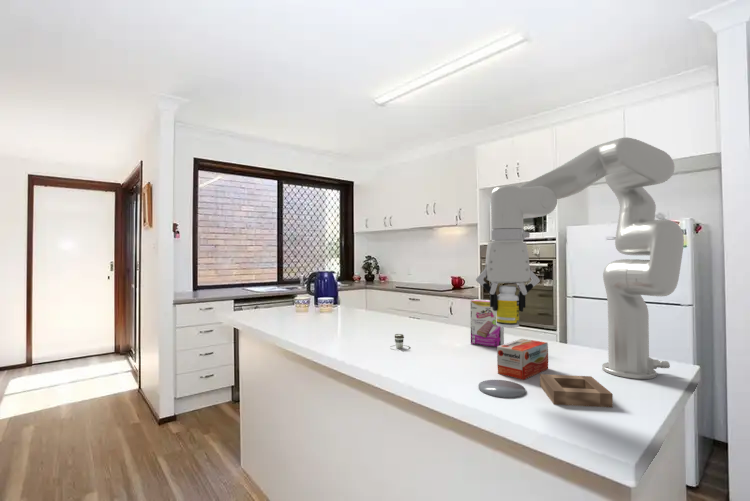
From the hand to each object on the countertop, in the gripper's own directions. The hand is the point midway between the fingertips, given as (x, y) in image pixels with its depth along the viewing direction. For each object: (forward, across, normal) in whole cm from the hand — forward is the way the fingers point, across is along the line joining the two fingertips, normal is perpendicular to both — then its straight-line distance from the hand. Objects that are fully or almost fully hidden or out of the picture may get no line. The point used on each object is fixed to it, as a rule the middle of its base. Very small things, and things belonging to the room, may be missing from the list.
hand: (507, 309), depth 94 cm
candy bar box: (+20, -1, -47) cm, 51 cm away
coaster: (+20, +1, 0) cm, 20 cm away
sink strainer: (+20, +31, -40) cm, 54 cm away
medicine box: (+20, -7, -16) cm, 27 cm away
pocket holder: (+20, -14, +2) cm, 25 cm away
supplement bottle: (+4, 0, 0) cm, 4 cm away
